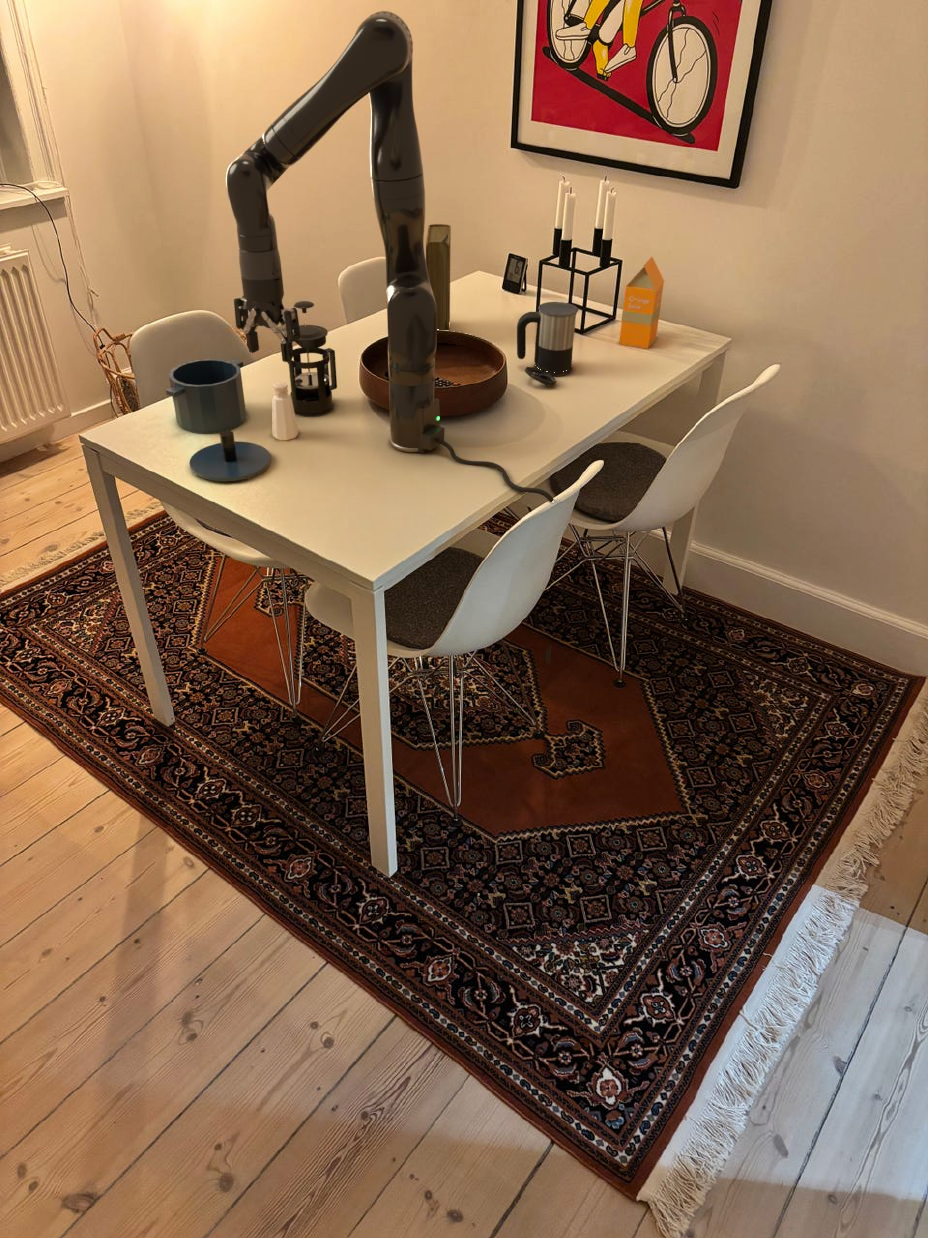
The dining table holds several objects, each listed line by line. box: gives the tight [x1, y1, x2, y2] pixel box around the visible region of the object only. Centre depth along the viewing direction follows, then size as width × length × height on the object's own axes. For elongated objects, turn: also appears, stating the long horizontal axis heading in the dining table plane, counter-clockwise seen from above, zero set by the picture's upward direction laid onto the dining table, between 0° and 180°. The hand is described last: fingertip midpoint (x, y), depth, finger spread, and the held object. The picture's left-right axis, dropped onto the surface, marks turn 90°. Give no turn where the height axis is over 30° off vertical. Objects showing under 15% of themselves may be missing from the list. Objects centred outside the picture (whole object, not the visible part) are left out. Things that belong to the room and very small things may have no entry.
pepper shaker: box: [271, 382, 299, 441], centre depth 198 cm, size 5×5×11 cm
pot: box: [165, 358, 247, 434], centre depth 203 cm, size 14×20×10 cm
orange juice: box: [618, 256, 665, 349], centre depth 241 cm, size 8×9×20 cm
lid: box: [189, 430, 272, 482], centre depth 188 cm, size 16×16×7 cm
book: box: [425, 223, 452, 331], centre depth 241 cm, size 16×6×25 cm, turn 179°
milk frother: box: [516, 301, 579, 387], centre depth 224 cm, size 14×16×15 cm
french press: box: [283, 300, 338, 417], centre depth 205 cm, size 12×9×23 cm
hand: (270, 355), depth 189 cm, fingers open, 8 cm apart
